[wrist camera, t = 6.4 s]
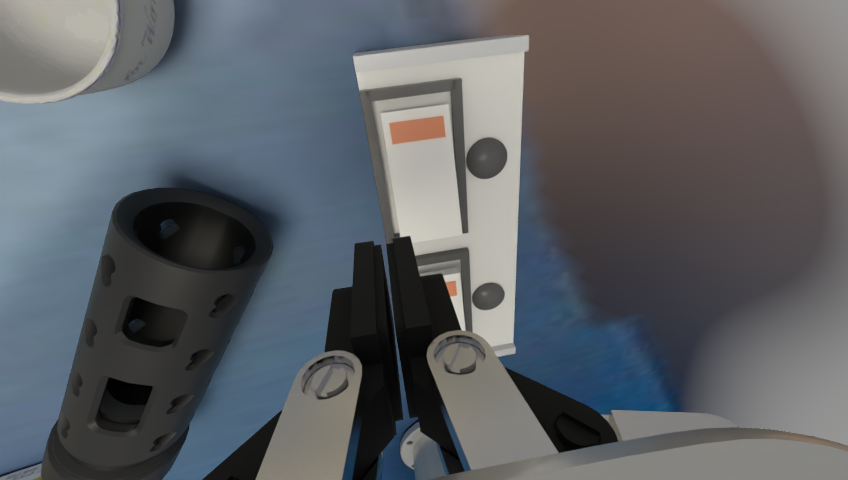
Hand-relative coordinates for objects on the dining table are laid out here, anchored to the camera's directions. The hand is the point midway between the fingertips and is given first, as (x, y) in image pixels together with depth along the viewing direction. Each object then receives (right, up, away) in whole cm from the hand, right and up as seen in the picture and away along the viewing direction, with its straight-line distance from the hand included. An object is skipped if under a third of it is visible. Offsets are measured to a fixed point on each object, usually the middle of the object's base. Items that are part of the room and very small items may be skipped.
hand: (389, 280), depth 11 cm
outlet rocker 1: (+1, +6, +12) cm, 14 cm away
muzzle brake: (-21, -6, +22) cm, 31 cm away
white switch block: (+3, +4, +20) cm, 21 cm away
